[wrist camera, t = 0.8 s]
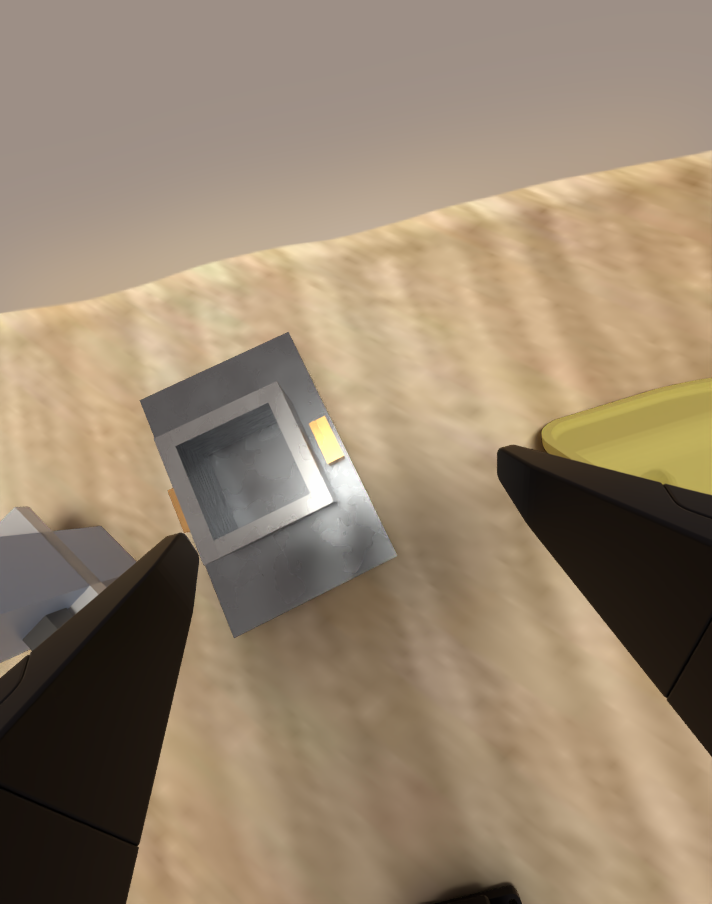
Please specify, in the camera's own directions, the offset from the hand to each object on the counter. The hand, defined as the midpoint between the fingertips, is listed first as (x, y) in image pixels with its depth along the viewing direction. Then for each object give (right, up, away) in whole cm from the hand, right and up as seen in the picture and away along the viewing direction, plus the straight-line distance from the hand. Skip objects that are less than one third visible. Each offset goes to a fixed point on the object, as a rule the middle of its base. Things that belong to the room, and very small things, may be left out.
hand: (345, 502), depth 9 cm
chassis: (-6, 0, +15) cm, 16 cm away
